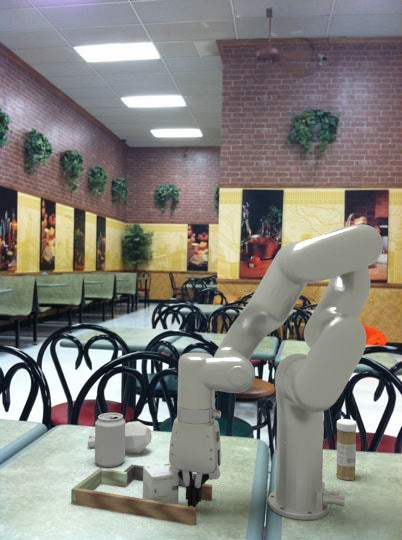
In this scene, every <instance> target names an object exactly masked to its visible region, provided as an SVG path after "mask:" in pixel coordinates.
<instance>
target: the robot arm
mask: <svg viewBox="0 0 402 540" xmlns="http://www.w3.org/2000/svg"><path fill="white" fill-rule="evenodd" d="M383 250H384V242H383V238H382V235H381V234H380V232H379V231H378V230H377V229H376V228H374V227H373V226H371V225H368V224H363V223H359V224H353V225H348V226H342V227H339V228H336V229H334V230H332V231H330V232H329V233H325V234H324V235H320V236H316V237H312V238H309V239H308V238H307V239H304V240H299V241H298V240H297V241H294V242H292V241H291V242H289V243H287V244H285V245H283V246H282V247H281V248H280V249H279V250H278V251H277V253H276V255H275V256H274V258H273V260H272V262H271V263H270V265H269V267H268V268H267V270H266V272H265V273H264V275H263V277H262V280H261V281H260V283H259V284H258V286H257V288H255V291H254V293H253V295H252V296H251V298H250V300H248V302H247V304H246V305H245V306H244V308H243V309H242V310H241V312H240V314H239V315H238V317H237V318H236V319H235V320H234V322H233V323H232V325H231V326H230V327H229V329H228V331H227V332H226V333H225V335H224V337H223V339H222V341H221V342H220V345H219V346H218V348H217V350H215V353H214V356H213V355H212V354H210V353H206V352H186V353H183V354H182V355H180V356H179V358H178V373H177V375H178V376H177V380H178V381H177V412H176V413H177V415H176V418H175V419H174V421H173V425H172V430H171V435H170V443H169V453H168V454H169V455H168V463H169V464H170V467H169V471H170V472H172V473H176V474H178V476H179V477H180V478H181V479H182V481H183V482H184V485H185V486H186V487H185V500H187V505H186V506H191V507H197V506H198V504H199V503H201V501H202V485H203V484H204V483H205V484H206V482H207V481H211V480H212V481H213V480H218V479H219V478H220V477H221V471H220V466H221V463H222V445H221V444H222V443H221V433H220V426H219V425H220V424H219V421H218V420H217V418H218V419H220V418H221V416H222V411H220V410H217V409H216V405H215V392H217V391H219V392H223V393H224V392H225V393H231V394H232V393H233V394H239V393H240V394H241V393H243V392H247V390H249V389H250V388H251V387H252V386H253V384H254V382H255V380H256V371H255V367H254V366H253V363H252V362H250V360H251V359H252V356H253V355H254V352H255V351H256V349H257V348H258V347H259V345H260V344H261V342H262V341H263V340H264V339H265V338H266V337H267V336H268V335H269V334H271V333H272V332H274V331H276V330H277V329H279V328H280V327H282V325H284V323H285V322H286V321H287V320H288V318H289V316H290V314H291V312H292V311H293V309H294V307H295V306H296V304H297V302H298V300H299V299H300V297H301V295H302V293H303V291H304V289H305V288H306V286H307V285H308V284H314V283H318V282H323V281H327V280H329V281H328V284H327V287H326V288H325V291H324V293H323V294H322V297H321V298H320V300H319V302H318V304H317V305H316V307H315V308H314V310H313V311H312V314H311V316H310V318H309V319H308V320H307V323H306V324H305V326H304V330H303V338H304V340H305V343H306V346H307V347H309V351H308V353H307V354H304V353H292V354H289V355H287V356H285V357H284V358H283V359H282V360H281V361H280V362H279V364H278V366H277V367H276V371H275V374H274V375H275V376H274V377H275V378H274V384H275V385H274V387H275V388H274V389H275V398H276V453H275V454H276V457H275V458H276V459H275V461H276V462H275V464H276V465H275V467H276V468H275V490H274V491H272V492H270V494H269V495H268V498H267V504H268V507H269V508H270V509H271V510H272V511H274V513H276V514H278V515H280V516H282V517H285V518H287V519H288V518H289V519H293V520H303V521H304V520H305V521H307V520H310V521H311V520H317V519H320V518H323V517H325V516H326V515H327V514H328V513H329V512H330V507H331V506H330V505H333V506H336V507H345V496H343V495H340V491H335V490H328V488H325V485H326V483H325V482H324V481H323V465H324V464H323V461H324V459H323V458H324V455H323V454H324V450H323V449H324V413H323V412H324V411H325V412H326V411H327V410H328V409H330V408H331V407H332V406H333V405H334V404H335V403H336V402H337V400H338V399H339V398H340V396H341V395H342V394H343V391H344V389H345V388H346V386H347V384H348V382H349V381H350V379H351V377H352V375H353V374H354V372H355V370H356V368H357V366H358V365H359V363H360V360H362V357H363V355H364V353H365V349H366V346H367V333H366V329H365V328H364V325H363V324H362V322H361V321H360V320H359V318H360V316H361V313H362V311H363V309H364V308H365V305H366V303H367V301H368V298H369V296H370V291H371V274H370V270H369V269H370V268H369V266H371V265H373V264H375V263H376V262H377V261H378V260H379V258H380V257H381V255H382V253H383ZM193 473H195V474H196V480H195V481H194V480H193Z"/></svg>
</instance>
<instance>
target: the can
mask: <svg viewBox="0 0 402 540" xmlns="http://www.w3.org/2000/svg"><path fill="white" fill-rule="evenodd" d="M125 424H126V420H125V419H124V415H123V414H122V413H118V412H106V413H101V414H99V415H98V416H97V420H96V421H95V423H94V435H95V448H94V462H95V463H96V464H97V465H98V466H99V467H101V468H114V467H117V466H120V465H121V464H122V463H123V462H124V461H125V460H126V459H125V458H126V452H125Z"/></svg>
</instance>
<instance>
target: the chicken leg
mask: <svg viewBox="0 0 402 540" xmlns="http://www.w3.org/2000/svg"><path fill="white" fill-rule="evenodd" d="M152 438H153V437H152V430H151V429H150V428H149V427H148V426H147V425H145V424H144V423H142V422H140V421H137V420H136V421H128V422H125V454H129V455H132V454H133V455H134V454H140V453H141V452H142V451H143V450H144V449H145V448H146V447H148V446H149V444H151V443H152ZM87 446H88V447H89V448H90V449H95V433H93V434H90V435H89V436H88V441H87Z"/></svg>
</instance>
